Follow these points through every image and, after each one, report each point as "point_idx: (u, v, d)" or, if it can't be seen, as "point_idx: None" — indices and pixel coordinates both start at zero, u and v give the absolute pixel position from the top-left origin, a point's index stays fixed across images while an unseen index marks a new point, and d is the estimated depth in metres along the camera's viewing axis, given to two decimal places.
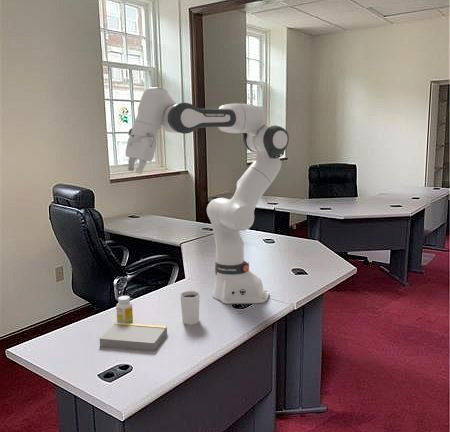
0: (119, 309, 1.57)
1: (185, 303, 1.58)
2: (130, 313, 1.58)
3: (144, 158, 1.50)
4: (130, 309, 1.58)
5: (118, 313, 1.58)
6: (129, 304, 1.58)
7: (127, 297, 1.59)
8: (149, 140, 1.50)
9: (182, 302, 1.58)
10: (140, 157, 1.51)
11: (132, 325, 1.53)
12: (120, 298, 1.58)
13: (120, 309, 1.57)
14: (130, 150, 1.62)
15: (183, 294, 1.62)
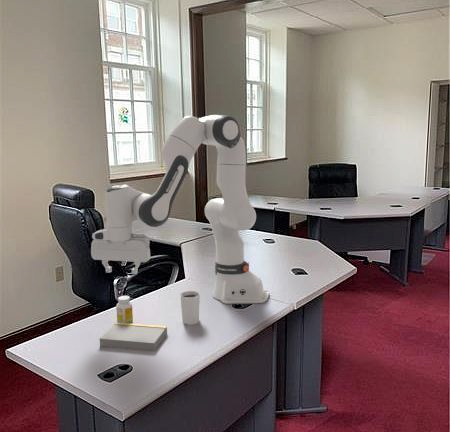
0: (119, 309, 1.57)
1: (185, 303, 1.58)
2: (130, 313, 1.58)
3: (146, 260, 1.53)
4: (130, 309, 1.58)
5: (118, 313, 1.58)
6: (129, 304, 1.58)
7: (127, 297, 1.59)
8: (144, 242, 1.52)
9: (182, 302, 1.58)
10: (140, 261, 1.53)
11: (132, 325, 1.53)
12: (120, 298, 1.58)
13: (120, 309, 1.57)
14: (103, 253, 1.55)
15: (183, 294, 1.62)
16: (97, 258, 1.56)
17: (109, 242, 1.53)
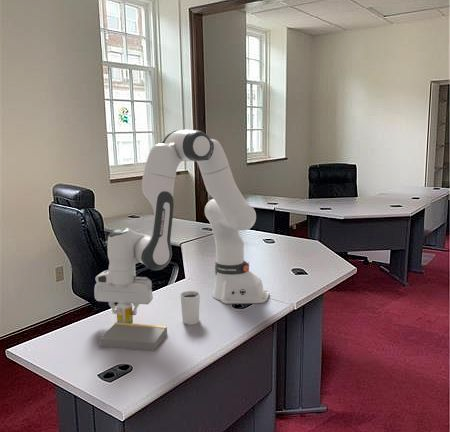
0: (119, 309, 1.57)
1: (185, 303, 1.58)
2: (130, 313, 1.58)
3: (149, 302, 1.56)
4: (130, 309, 1.58)
5: (118, 313, 1.58)
6: (129, 304, 1.58)
7: None
8: (147, 285, 1.55)
9: (182, 302, 1.58)
10: (142, 303, 1.56)
11: (132, 325, 1.53)
12: None
13: (120, 309, 1.57)
14: (106, 295, 1.58)
15: (183, 294, 1.62)
16: (100, 300, 1.59)
17: (112, 285, 1.56)
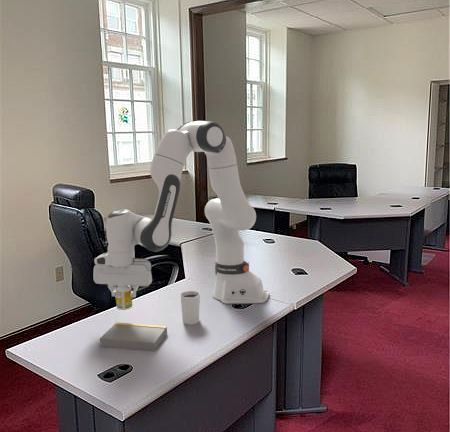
0: (118, 292, 1.56)
1: (185, 303, 1.58)
2: (129, 296, 1.57)
3: (148, 284, 1.55)
4: (129, 292, 1.57)
5: (117, 296, 1.56)
6: (128, 287, 1.57)
7: None
8: (146, 267, 1.54)
9: (182, 302, 1.58)
10: (142, 285, 1.54)
11: (132, 325, 1.53)
12: None
13: (119, 292, 1.56)
14: (105, 277, 1.57)
15: (183, 294, 1.62)
16: (99, 282, 1.57)
17: (111, 267, 1.55)
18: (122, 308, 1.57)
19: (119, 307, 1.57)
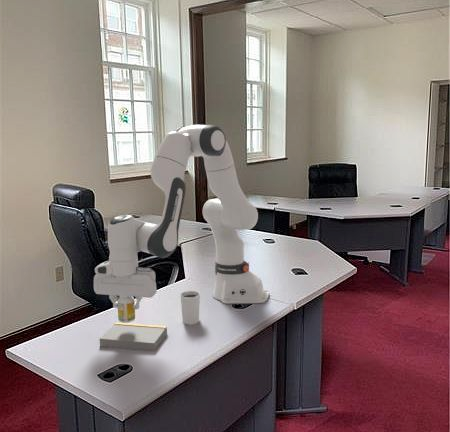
0: (120, 304, 1.45)
1: (185, 303, 1.58)
2: (132, 308, 1.47)
3: (152, 295, 1.44)
4: (132, 304, 1.47)
5: (119, 308, 1.46)
6: (131, 298, 1.47)
7: None
8: (150, 276, 1.43)
9: (182, 302, 1.58)
10: (145, 296, 1.44)
11: (132, 325, 1.53)
12: None
13: (121, 304, 1.45)
14: (107, 288, 1.46)
15: (183, 294, 1.62)
16: (100, 293, 1.47)
17: (113, 276, 1.45)
18: (124, 321, 1.46)
19: (121, 320, 1.46)
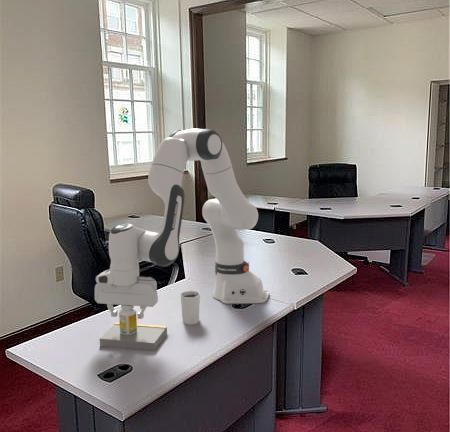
0: (122, 316, 1.45)
1: (185, 303, 1.58)
2: (134, 320, 1.46)
3: None
4: (134, 316, 1.46)
5: (121, 320, 1.45)
6: (133, 311, 1.46)
7: None
8: (151, 286, 1.42)
9: (182, 302, 1.58)
10: (147, 305, 1.43)
11: None
12: None
13: (123, 316, 1.45)
14: (108, 297, 1.45)
15: (183, 294, 1.62)
16: (101, 302, 1.46)
17: (114, 285, 1.44)
18: (126, 333, 1.46)
19: (123, 332, 1.46)
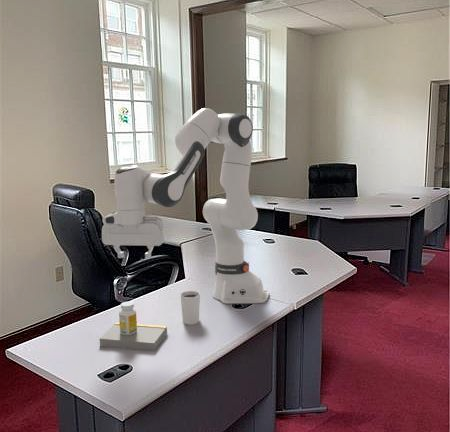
0: (122, 316, 1.45)
1: (185, 303, 1.58)
2: (134, 320, 1.46)
3: (160, 244, 1.47)
4: (134, 316, 1.46)
5: (121, 320, 1.45)
6: (133, 311, 1.46)
7: (131, 303, 1.47)
8: (157, 225, 1.46)
9: (182, 302, 1.58)
10: (153, 244, 1.47)
11: None
12: (123, 304, 1.46)
13: (123, 316, 1.45)
14: (115, 238, 1.49)
15: (183, 294, 1.62)
16: (108, 243, 1.50)
17: (120, 226, 1.47)
18: (126, 333, 1.46)
19: (123, 332, 1.46)
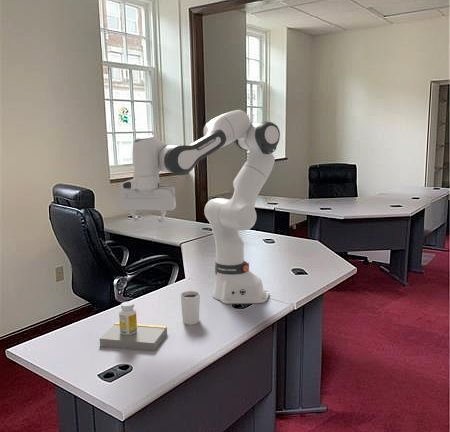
0: (122, 316, 1.45)
1: (185, 303, 1.58)
2: (134, 320, 1.46)
3: (173, 208, 1.59)
4: (134, 316, 1.46)
5: (121, 320, 1.45)
6: (133, 311, 1.46)
7: (131, 303, 1.47)
8: (171, 191, 1.58)
9: (182, 302, 1.58)
10: (166, 209, 1.59)
11: None
12: (123, 304, 1.46)
13: (123, 316, 1.45)
14: (131, 202, 1.61)
15: (183, 294, 1.62)
16: (125, 208, 1.62)
17: (136, 191, 1.60)
18: (126, 333, 1.46)
19: (123, 332, 1.46)
